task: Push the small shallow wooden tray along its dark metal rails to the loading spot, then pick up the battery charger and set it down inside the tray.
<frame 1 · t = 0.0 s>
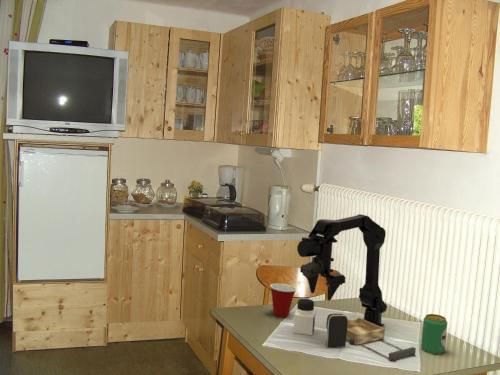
hand: (320, 296, 201), 15 cm above the table, fingers open, 9 cm apart
medicine bottle: (303, 331, 206), on the table
beverage can: (432, 350, 195), on the table
battery charger: (334, 346, 194), on the table
plastic cup: (281, 315, 223), on the table
rails: (373, 343, 197), on the table
shallow wooden tray: (358, 331, 204), point 2 cm above the table, slide at 0.0 cm
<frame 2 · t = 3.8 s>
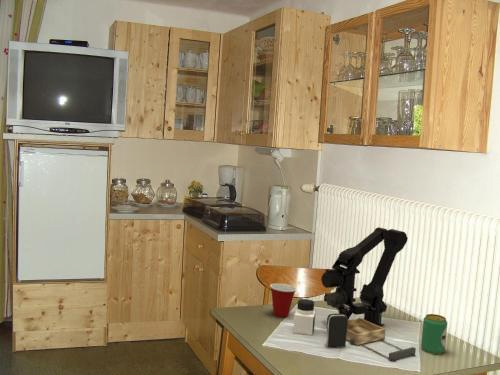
hand: (343, 324, 210), 2 cm above the table, fingers closed
shallow wooden tray: (358, 331, 203), point 2 cm above the table, slide at 0.3 cm, touching gripper
everything else where it was.
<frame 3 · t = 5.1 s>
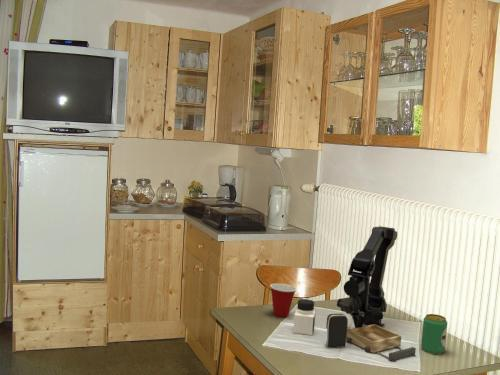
hand: (357, 331, 204), 2 cm above the table, fingers closed
shallow wooden tray: (373, 338, 197), point 2 cm above the table, slide at 7.7 cm, touching gripper
everything else where it was.
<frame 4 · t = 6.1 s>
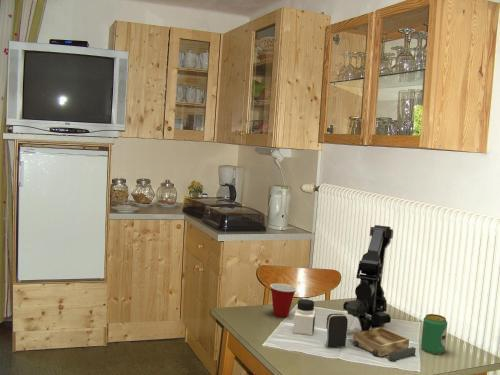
hand: (364, 334, 201), 2 cm above the table, fingers closed
shallow wooden tray: (380, 341, 194), point 2 cm above the table, slide at 11.2 cm, touching gripper
everything else where it was.
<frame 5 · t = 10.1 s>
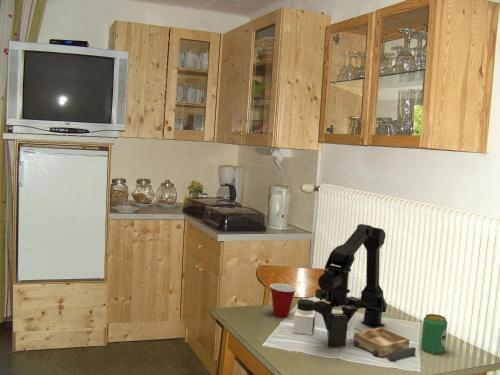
hand: (336, 329, 193), 6 cm above the table, fingers closed on battery charger, 7 cm apart
battery charger: (334, 346, 194), on the table, touching gripper
shallow wooden tray: (381, 341, 194), point 2 cm above the table, slide at 11.4 cm
everything else where it was.
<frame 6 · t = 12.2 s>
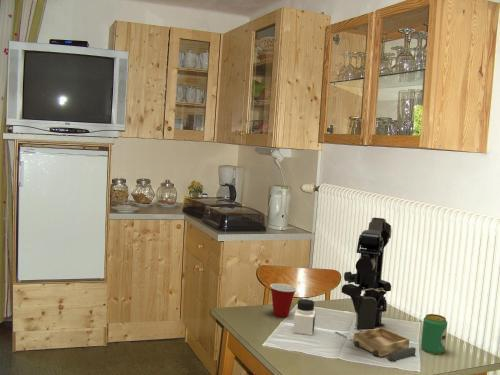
hand: (364, 311, 193), 13 cm above the table, fingers closed on battery charger, 7 cm apart
battery charger: (364, 328, 194), point 6 cm above the table, touching gripper
everything else where it was.
when the fingers open (8 cm above the table, at t = 14.1 s): battery charger stays where it is, resting on shallow wooden tray.
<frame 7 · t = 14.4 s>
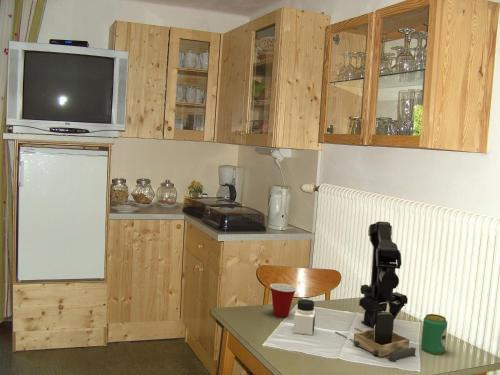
hand: (381, 324, 194), 8 cm above the table, fingers open, 9 cm apart
battery charger: (380, 344, 195), point 1 cm above the table, touching shallow wooden tray
shallow wooden tray: (381, 341, 194), point 2 cm above the table, slide at 11.4 cm, touching battery charger
everything else where it was.
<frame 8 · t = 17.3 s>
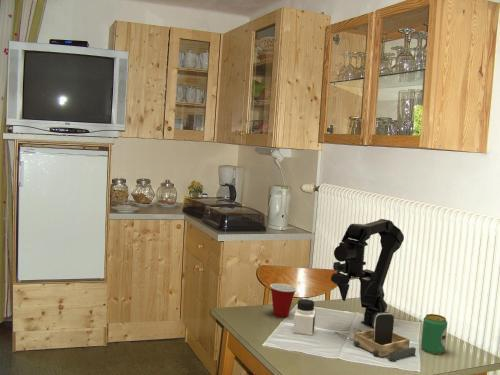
hand: (352, 299, 206), 13 cm above the table, fingers open, 9 cm apart
nothing on the table moved.
at the end: shallow wooden tray slide at 11.5 cm; battery charger inside the target area on the shallow wooden tray (0.6 cm from its centre), point 0.8 cm above the shallow wooden tray's base; battery charger tilted 0° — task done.
